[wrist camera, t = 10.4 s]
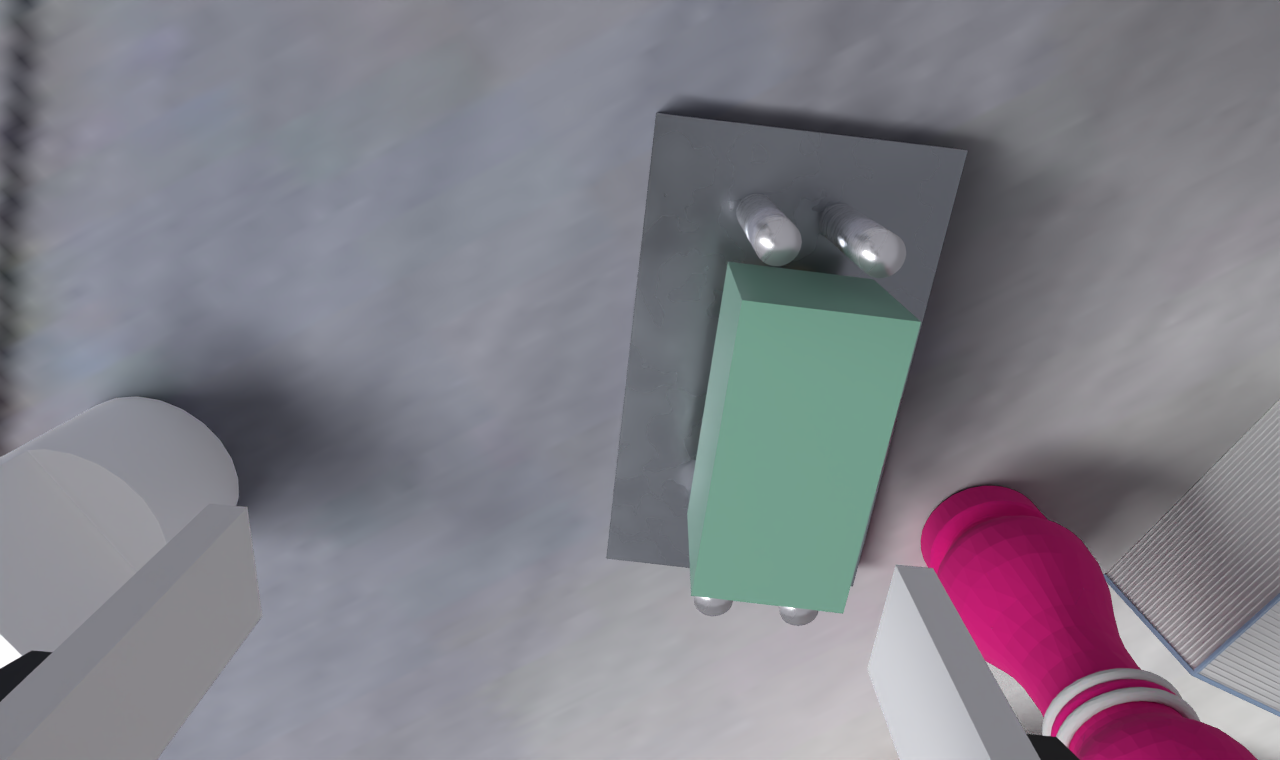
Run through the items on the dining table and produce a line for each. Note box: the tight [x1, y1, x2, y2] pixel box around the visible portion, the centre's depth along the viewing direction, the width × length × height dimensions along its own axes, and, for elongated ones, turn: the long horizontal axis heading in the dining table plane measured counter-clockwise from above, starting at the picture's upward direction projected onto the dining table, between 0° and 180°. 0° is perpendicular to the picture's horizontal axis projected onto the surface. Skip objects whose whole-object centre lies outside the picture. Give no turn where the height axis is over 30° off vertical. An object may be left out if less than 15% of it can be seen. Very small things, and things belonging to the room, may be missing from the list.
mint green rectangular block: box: [687, 262, 921, 613], centre depth 29 cm, size 12×6×6 cm, turn 173°
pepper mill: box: [921, 486, 1257, 760], centre depth 29 cm, size 7×7×20 cm
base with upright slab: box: [0, 396, 239, 668], centre depth 33 cm, size 9×9×12 cm
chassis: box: [606, 113, 968, 626], centre depth 32 cm, size 22×13×8 cm, turn 174°
